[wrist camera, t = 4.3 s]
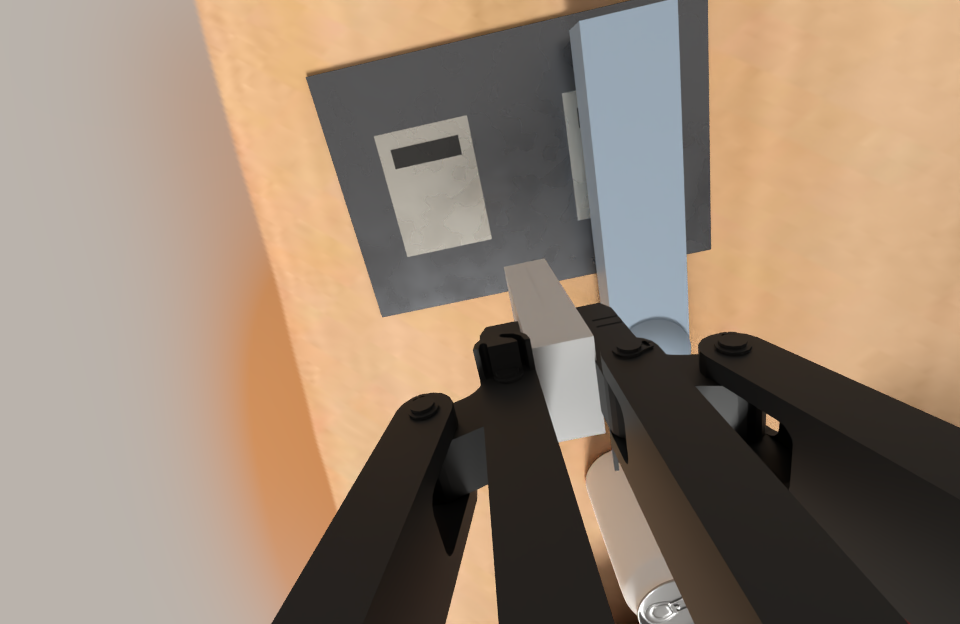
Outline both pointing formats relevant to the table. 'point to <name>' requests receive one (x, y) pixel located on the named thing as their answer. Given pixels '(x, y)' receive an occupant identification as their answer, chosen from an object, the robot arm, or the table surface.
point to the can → (633, 547)
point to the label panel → (486, 158)
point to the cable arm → (636, 166)
